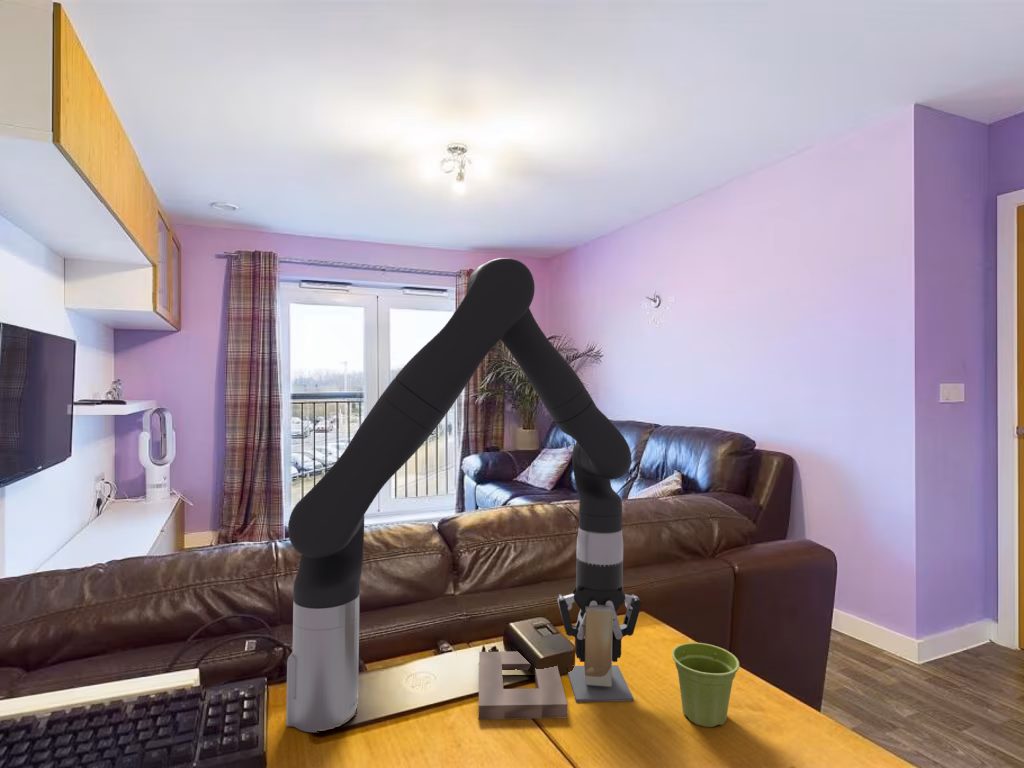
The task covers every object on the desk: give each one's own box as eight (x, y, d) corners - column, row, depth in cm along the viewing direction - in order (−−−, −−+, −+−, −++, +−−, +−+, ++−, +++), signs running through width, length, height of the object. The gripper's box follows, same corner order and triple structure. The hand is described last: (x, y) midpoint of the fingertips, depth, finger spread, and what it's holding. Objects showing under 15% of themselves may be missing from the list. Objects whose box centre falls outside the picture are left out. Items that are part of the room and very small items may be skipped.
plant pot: (737, 743, 74) (738, 680, 75) (666, 724, 78) (667, 664, 78) (739, 707, 83) (740, 650, 83) (675, 691, 87) (676, 637, 87)
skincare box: (583, 665, 92) (584, 593, 92) (609, 667, 92) (610, 595, 92) (584, 686, 86) (585, 609, 86) (612, 688, 85) (613, 610, 86)
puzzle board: (478, 719, 79) (478, 705, 79) (479, 663, 95) (479, 651, 95) (567, 717, 80) (567, 704, 80) (553, 662, 96) (553, 651, 96)
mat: (576, 701, 84) (576, 699, 84) (566, 668, 94) (566, 665, 94) (633, 700, 84) (633, 698, 84) (617, 667, 94) (617, 665, 94)
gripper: (559, 562, 85) (557, 672, 85) (649, 563, 86) (647, 671, 86) (553, 548, 92) (551, 648, 92) (636, 548, 93) (634, 648, 93)
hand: (597, 659), depth 89 cm, fingers closed on skincare box, 4 cm apart
